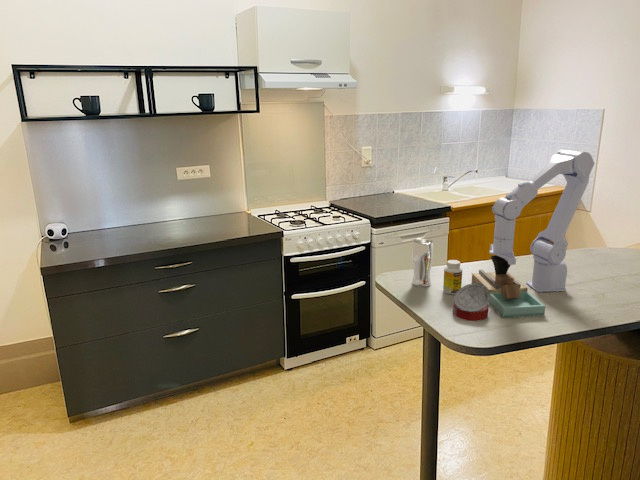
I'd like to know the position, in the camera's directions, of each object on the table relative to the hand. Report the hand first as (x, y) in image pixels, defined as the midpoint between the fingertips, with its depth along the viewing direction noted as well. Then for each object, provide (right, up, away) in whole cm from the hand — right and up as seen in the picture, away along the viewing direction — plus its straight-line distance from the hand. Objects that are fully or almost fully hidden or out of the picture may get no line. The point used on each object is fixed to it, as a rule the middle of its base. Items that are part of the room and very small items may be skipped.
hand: (500, 278), depth 153 cm
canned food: (-13, -9, -12) cm, 20 cm away
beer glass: (-22, -3, +11) cm, 25 cm away
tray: (+1, -8, -10) cm, 13 cm away
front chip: (0, -4, -6) cm, 7 cm away
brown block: (0, -2, -3) cm, 3 cm away
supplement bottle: (-14, -5, +4) cm, 15 cm away
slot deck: (0, -4, +2) cm, 5 cm away
